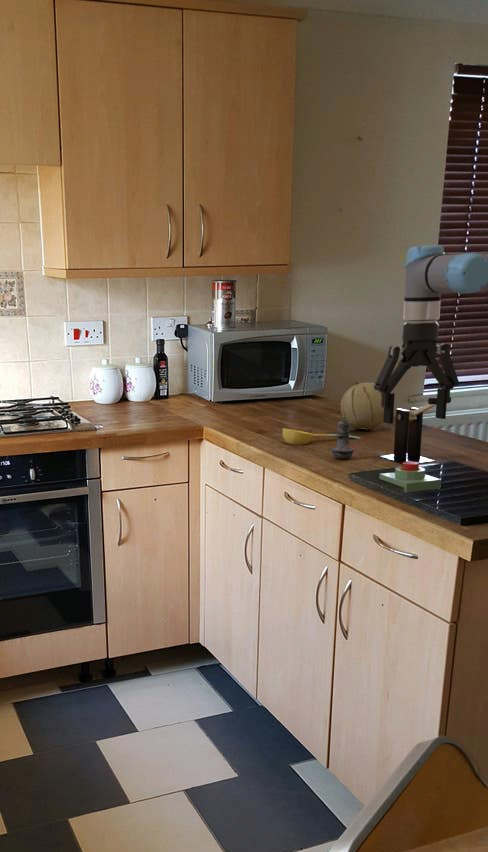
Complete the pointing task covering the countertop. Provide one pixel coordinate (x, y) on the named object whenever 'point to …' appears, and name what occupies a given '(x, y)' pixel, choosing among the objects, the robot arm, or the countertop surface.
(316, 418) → the countertop surface
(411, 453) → the bracket
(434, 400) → the lever
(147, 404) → the countertop surface
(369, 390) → the cantaloupe
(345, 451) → the grey chess piece
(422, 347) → the robot arm
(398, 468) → the control block
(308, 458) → the countertop surface
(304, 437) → the ladle
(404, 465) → the button
